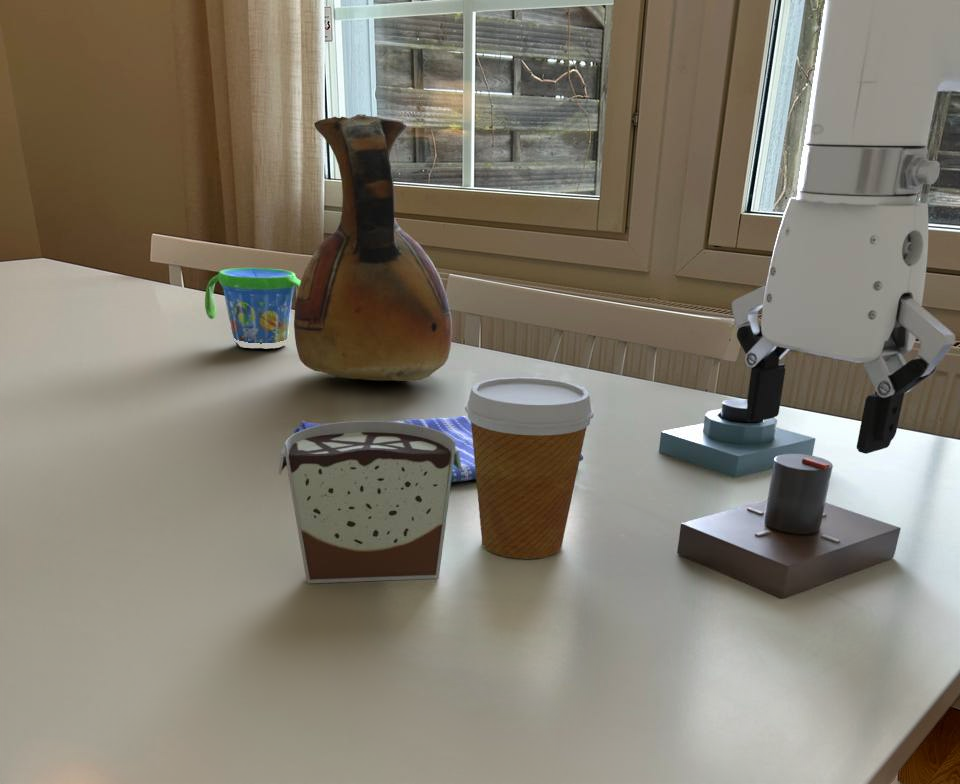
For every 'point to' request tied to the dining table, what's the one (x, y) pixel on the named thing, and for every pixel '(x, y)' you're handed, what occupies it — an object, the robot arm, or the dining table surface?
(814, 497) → the knob
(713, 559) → the knob panel
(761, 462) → the button box
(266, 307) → the snack cup
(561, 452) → the disposable coffee cup
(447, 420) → the dish towel
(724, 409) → the button
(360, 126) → the ceramic pitcher
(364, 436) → the food container
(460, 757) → the dining table surface
